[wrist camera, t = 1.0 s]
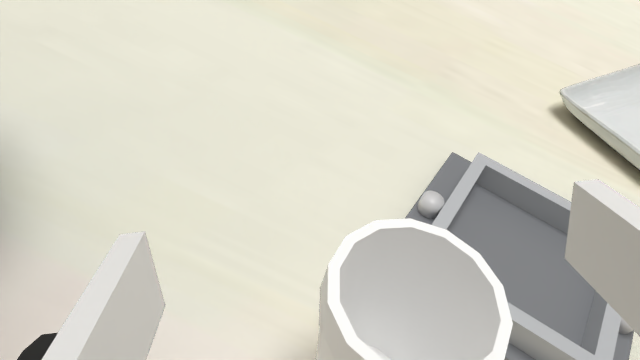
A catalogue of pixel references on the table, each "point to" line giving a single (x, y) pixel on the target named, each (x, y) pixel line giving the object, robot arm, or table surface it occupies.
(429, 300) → the foam cup
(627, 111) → the square plate
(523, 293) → the tray
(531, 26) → the table surface
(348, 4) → the table surface
